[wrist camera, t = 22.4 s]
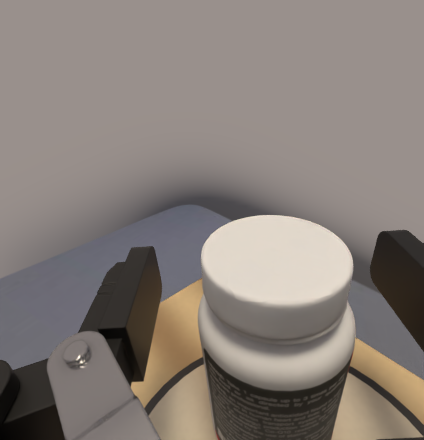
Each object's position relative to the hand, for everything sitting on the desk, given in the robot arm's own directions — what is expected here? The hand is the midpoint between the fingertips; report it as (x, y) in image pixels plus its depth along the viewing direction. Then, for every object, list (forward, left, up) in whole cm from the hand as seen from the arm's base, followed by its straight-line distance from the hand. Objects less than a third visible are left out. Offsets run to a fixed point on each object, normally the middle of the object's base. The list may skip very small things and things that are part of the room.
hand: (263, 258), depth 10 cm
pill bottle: (0, +2, -7) cm, 7 cm away
